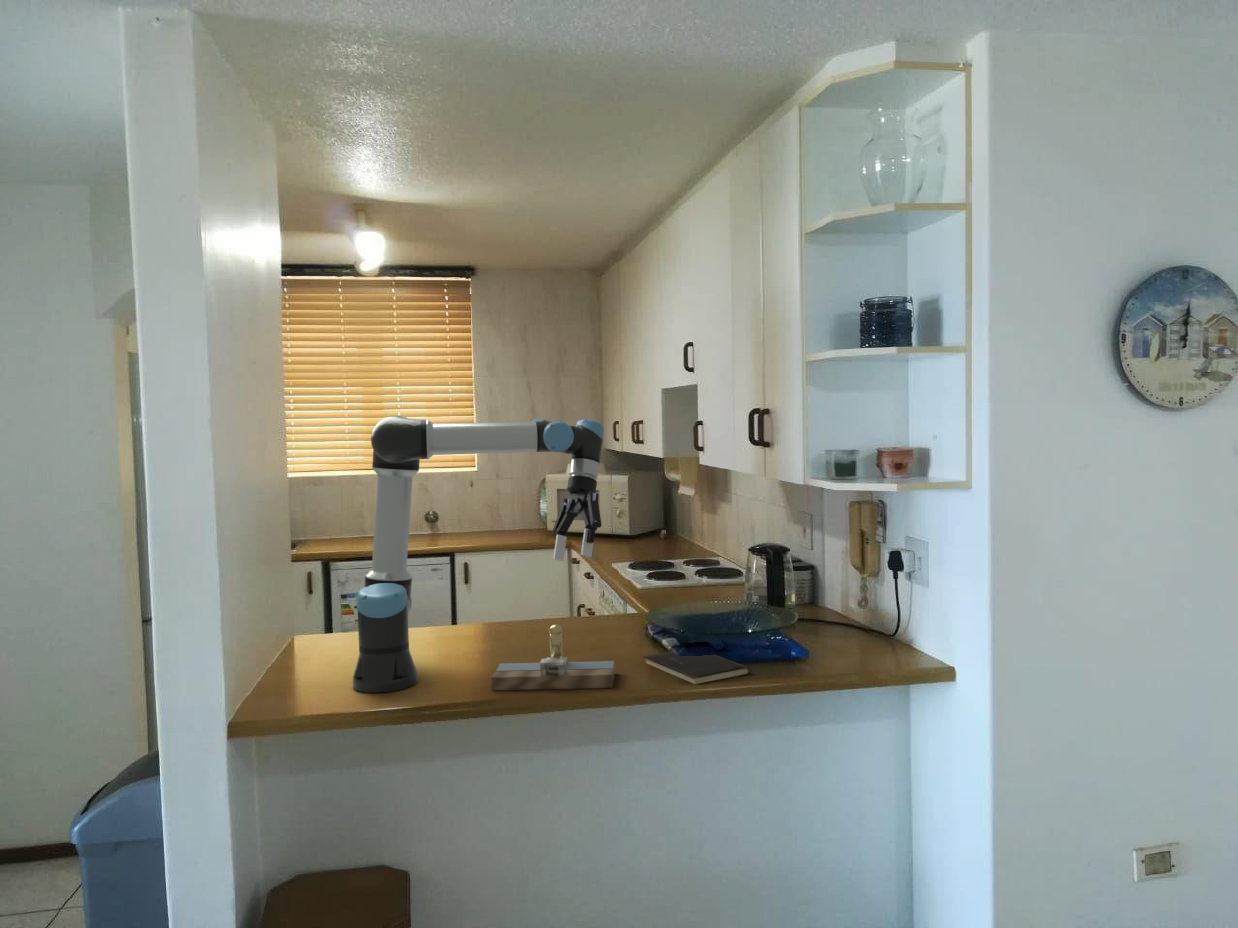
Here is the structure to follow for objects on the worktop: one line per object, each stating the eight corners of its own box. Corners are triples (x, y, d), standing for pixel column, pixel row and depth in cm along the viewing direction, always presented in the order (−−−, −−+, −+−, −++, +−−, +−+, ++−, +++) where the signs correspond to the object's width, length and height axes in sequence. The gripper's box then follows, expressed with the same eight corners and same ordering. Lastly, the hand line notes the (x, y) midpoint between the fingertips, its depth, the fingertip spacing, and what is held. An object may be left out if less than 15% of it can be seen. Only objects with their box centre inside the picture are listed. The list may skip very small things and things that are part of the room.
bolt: (547, 667, 210) (546, 629, 210) (550, 659, 217) (549, 623, 217) (561, 667, 210) (559, 629, 210) (563, 659, 217) (562, 622, 217)
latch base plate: (496, 683, 210) (495, 665, 210) (500, 675, 217) (499, 658, 217) (613, 680, 210) (612, 663, 209) (614, 672, 216) (613, 656, 216)
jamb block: (492, 690, 205) (491, 664, 205) (495, 683, 210) (494, 658, 210) (612, 687, 204) (611, 661, 204) (613, 681, 209) (612, 656, 209)
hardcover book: (693, 686, 205) (693, 677, 204) (644, 665, 225) (643, 656, 225) (749, 675, 212) (749, 666, 212) (696, 655, 232) (696, 646, 232)
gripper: (621, 474, 223) (611, 557, 217) (570, 488, 243) (559, 564, 237) (597, 467, 219) (585, 550, 213) (547, 481, 239) (535, 558, 233)
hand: (571, 558), depth 225 cm, fingers open, 13 cm apart
